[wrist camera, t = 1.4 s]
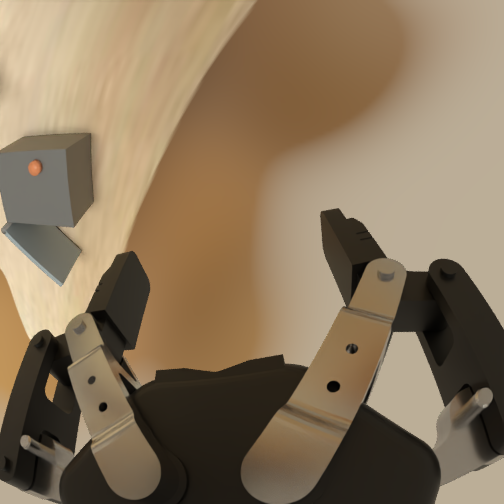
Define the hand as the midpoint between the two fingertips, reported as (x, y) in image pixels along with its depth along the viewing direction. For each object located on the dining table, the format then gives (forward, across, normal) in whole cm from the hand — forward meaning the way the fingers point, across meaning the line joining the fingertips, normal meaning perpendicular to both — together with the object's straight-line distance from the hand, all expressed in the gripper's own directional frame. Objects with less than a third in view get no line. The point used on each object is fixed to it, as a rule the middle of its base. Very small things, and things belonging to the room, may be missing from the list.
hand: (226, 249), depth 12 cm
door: (+25, +30, +6) cm, 40 cm away
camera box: (+25, +25, -3) cm, 35 cm away
